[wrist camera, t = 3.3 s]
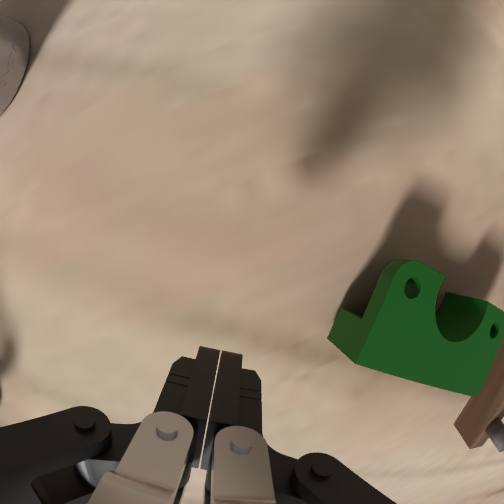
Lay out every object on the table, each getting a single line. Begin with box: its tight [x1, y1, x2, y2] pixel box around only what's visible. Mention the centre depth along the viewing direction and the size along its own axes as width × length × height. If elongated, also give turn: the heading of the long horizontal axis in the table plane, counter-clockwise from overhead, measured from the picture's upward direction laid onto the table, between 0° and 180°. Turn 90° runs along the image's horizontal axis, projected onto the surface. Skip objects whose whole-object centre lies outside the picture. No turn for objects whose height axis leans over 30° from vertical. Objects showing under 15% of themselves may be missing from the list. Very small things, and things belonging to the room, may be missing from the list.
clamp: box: [327, 259, 504, 397], centre depth 18 cm, size 12×6×9 cm, turn 60°
